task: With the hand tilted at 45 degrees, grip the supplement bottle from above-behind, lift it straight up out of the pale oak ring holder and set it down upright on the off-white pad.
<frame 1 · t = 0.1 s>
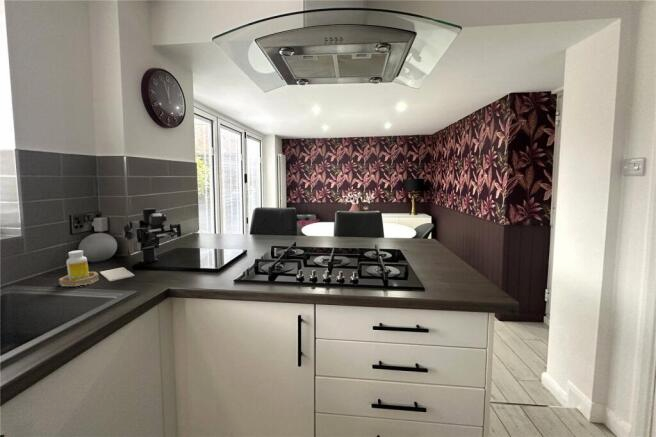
hand: (166, 235, 141), 17 cm above the worktop, tool horizontal, fingers open, 9 cm apart
supplement bottle: (80, 282, 131), resting in ring holder
ring holder: (79, 282, 131), on the worktop
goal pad: (116, 274, 141), on the worktop
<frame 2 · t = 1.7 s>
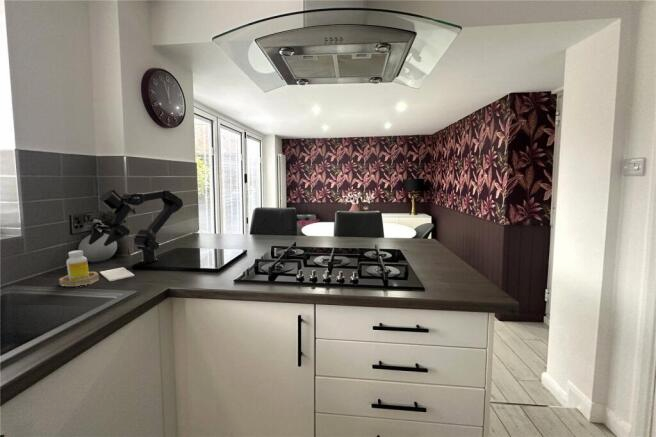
hand: (97, 244, 136), 14 cm above the worktop, tool tilted 45°, fingers open, 9 cm apart
nothing on the worktop moved.
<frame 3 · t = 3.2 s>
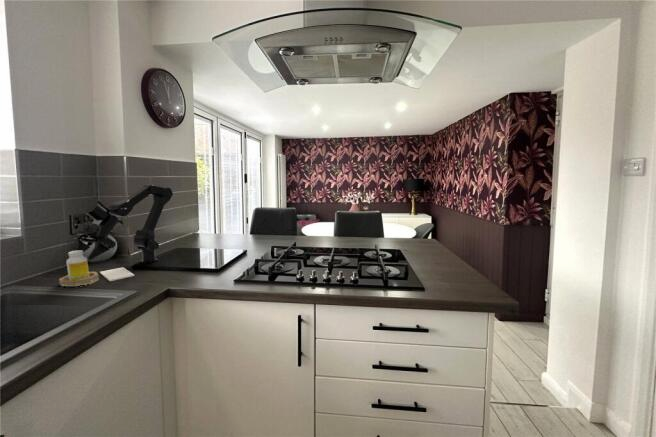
hand: (81, 258, 131), 10 cm above the worktop, tool tilted 45°, fingers open, 9 cm apart
nothing on the worktop moved.
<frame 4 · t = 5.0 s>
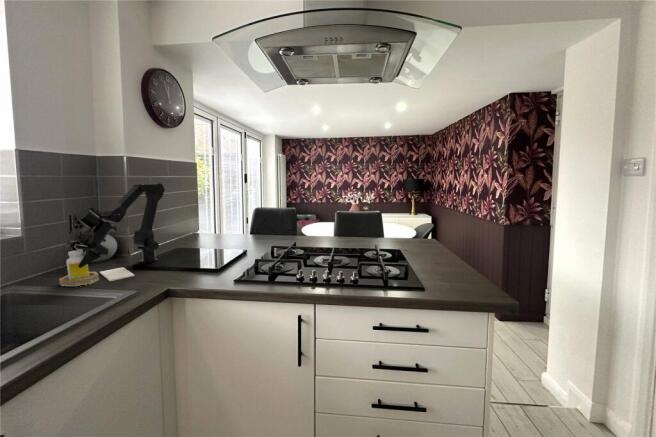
hand: (73, 266, 129), 7 cm above the worktop, tool tilted 45°, fingers closed on supplement bottle, 7 cm apart
supplement bottle: (79, 282, 131), resting in ring holder, touching gripper
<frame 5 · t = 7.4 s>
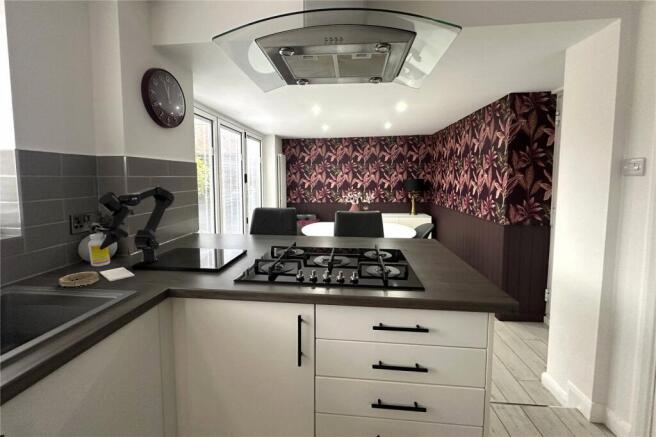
hand: (95, 248, 134), 13 cm above the worktop, tool tilted 45°, fingers closed on supplement bottle, 7 cm apart
supplement bottle: (101, 264, 136), point 6 cm above the worktop, touching gripper
when the fingers open (9 cm above the worktop, at t = 9.9 s): supplement bottle stays where it is, resting on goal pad.
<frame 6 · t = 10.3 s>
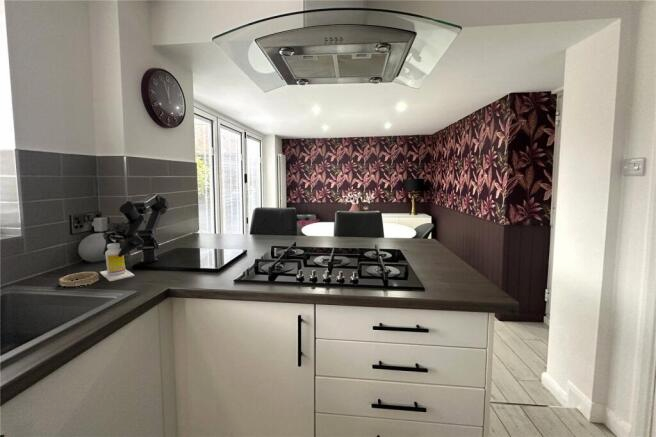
hand: (111, 255, 138), 9 cm above the worktop, tool tilted 45°, fingers open, 9 cm apart
supplement bottle: (116, 273, 141), resting on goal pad
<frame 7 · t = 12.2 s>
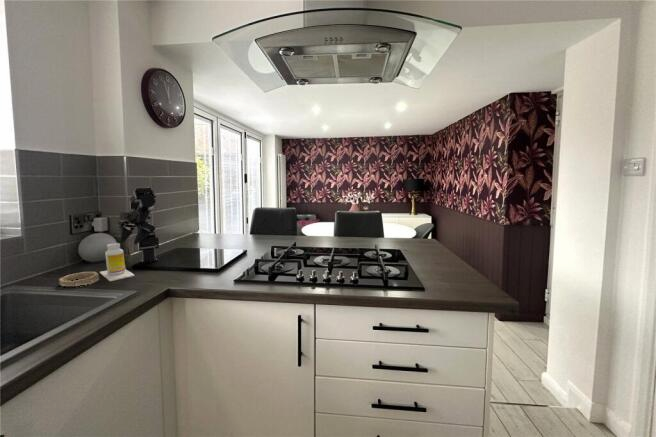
hand: (128, 243, 144), 12 cm above the worktop, tool tilted 35°, fingers open, 9 cm apart
nothing on the worktop moved.
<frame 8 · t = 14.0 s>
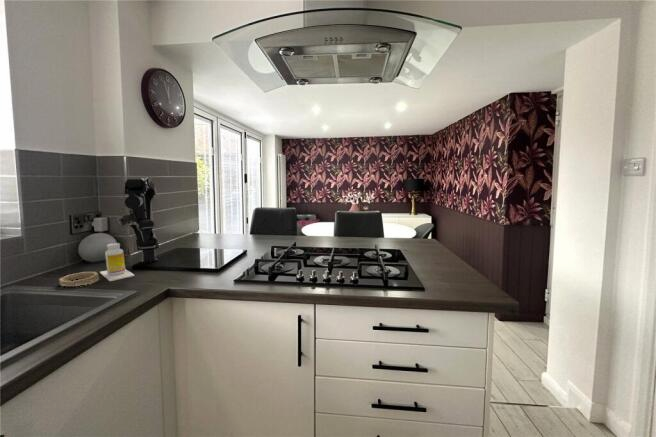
hand: (141, 241, 146), 13 cm above the worktop, tool pointing down, fingers open, 9 cm apart
nothing on the worktop moved.
at the end: supplement bottle inside the target area on the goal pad (0.2 cm from its centre), point 0.4 cm above the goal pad's base; supplement bottle tilted 0°; the gripper is holding nothing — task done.
